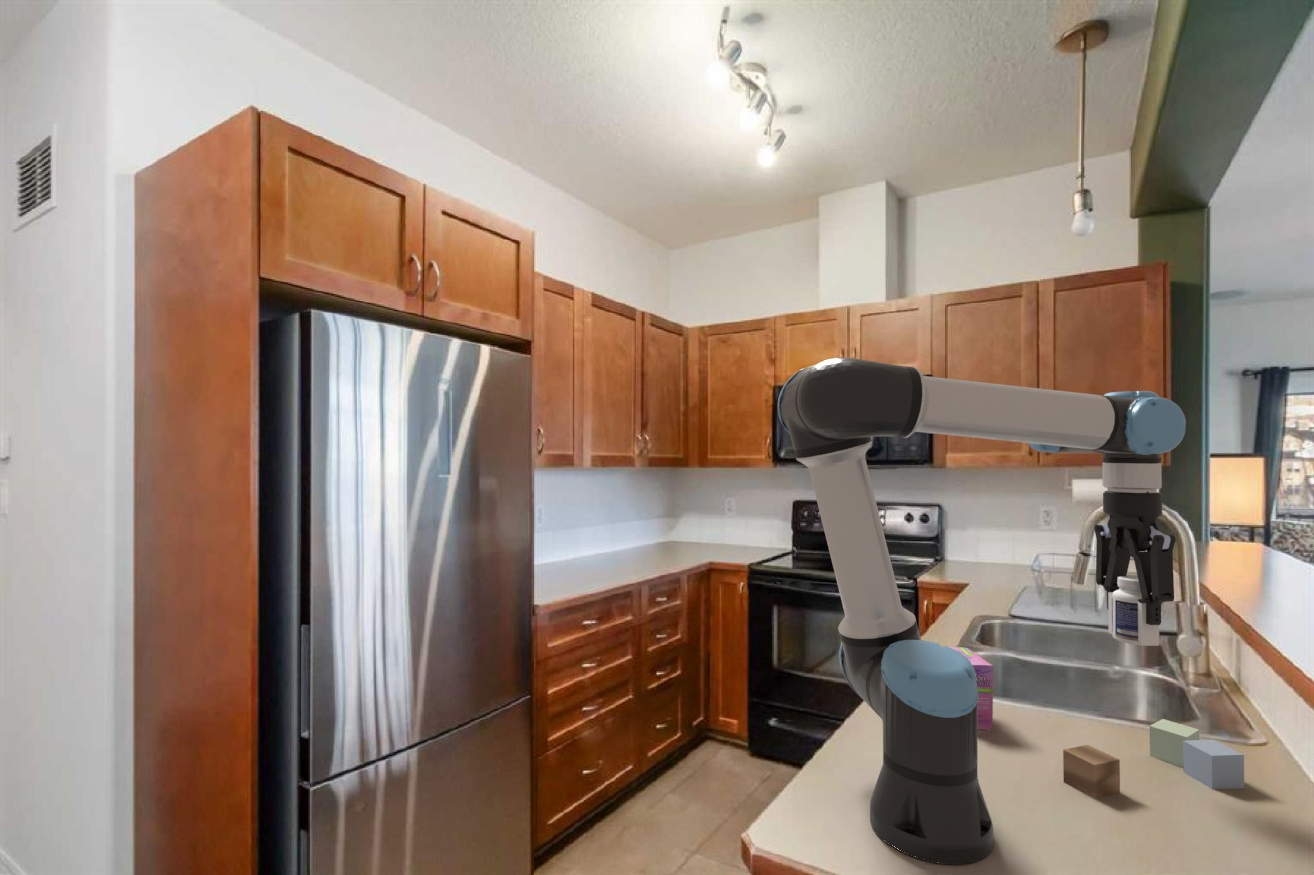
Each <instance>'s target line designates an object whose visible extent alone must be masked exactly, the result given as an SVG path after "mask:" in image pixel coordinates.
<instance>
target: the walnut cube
mask: <svg viewBox="0 0 1314 875" xmlns="http://www.w3.org/2000/svg"><path fill="white" fill-rule="evenodd" d="M1062 750H1063V751H1062V752H1063V753H1062V756H1063V760H1062V762H1063V763H1062V764H1063V765H1062V766H1063V768H1062V770H1063V783H1064V784H1067V785H1068V786H1069V787H1072V788H1074V789H1075V790H1078V791H1079V792H1081V793H1083V794H1085V795H1086V796H1089V797H1090V798H1092V799H1093V800H1096V799H1100V798H1105V797H1106V798H1107V797H1109V796H1114V795H1118V794H1121V770H1120V769H1121V768H1120V766H1121V763H1120V758H1117V757H1115V756H1113V755H1111V754H1109V753H1106V752H1104V751H1103V750H1100V749H1098V748H1096V747H1094V746H1093V745H1092V746H1091V745H1089V744H1085V745H1079V746H1075V747H1069V748H1065V749H1062Z"/></svg>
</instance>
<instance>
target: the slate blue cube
mask: <svg viewBox="0 0 1314 875" xmlns="http://www.w3.org/2000/svg"><path fill="white" fill-rule="evenodd" d="M1182 768H1183V773H1184V774H1186V775H1187V776H1189V777H1191V778H1192V779H1194V780H1196V781H1198V782H1199V783H1201V784H1203V785H1205V786H1207V787H1208V788H1209V789H1211V790H1222V789H1223V790H1227V789H1245V755H1244V754H1243V753H1241V752H1239V751H1237V750H1235V749H1233V748H1231V747H1229V746H1227V745H1225V744H1223V743H1221V742H1219V741H1217V740H1215V739H1199V740H1187V741H1183V767H1182Z"/></svg>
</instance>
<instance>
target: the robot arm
mask: <svg viewBox="0 0 1314 875" xmlns="http://www.w3.org/2000/svg"><path fill="white" fill-rule="evenodd" d="M777 415H778V418H779V421H780V423H781V425H782V427H783V428H784V430H785V431H786V432H787V433H788V434H789V435H790V440H791V442H792V444H791V445H792V447H793V452H794V455H795V456H794V457H795V460H796V461H797V462H799V463H801V464H802V465H805V467H807V469H808V470H809V475H810V478H811V479H810V480H811V481H812V482H811V483H812V487H813V491H814V495H815V498H816V503H817V507H818V511H819V514H820V520H821V524H822V527H823V531H824V534H825V539H826V542H827V543H826V544H827V546H828V552H829V555H830V556H829V557H830V559H831V563H832V568H833V571H834V572H833V573H834V576H835V579H836V584H837V588H838V592H839V596H840V600H841V604H842V608H843V612H844V617H843V619H842V620H841V621H840V623H839V625H838V627H837V629H838V633H839V637H840V641H841V642H840V645H839V651H838V659H839V666H840V669H841V671H842V674H843V676H844V679H845V680H846V683H847V684H848V685H849V687H850V688H851V690H852V691H853V692H854V693H855V694H856V695H858V696H859V697H860V698H861V699H862V700H863V701H864V702H865V703H866V704H867V705H868V707H870V709H872V710H873V711H874V712H875V714H876V715H877V716H878V717H879V718H880V719H881V720H882V749H883V750H882V757H883V758H882V766H881V768H880V772H879V774H878V778H877V780H876V783H875V785H874V789H873V792H872V794H871V797H870V803H869V819H870V820H869V821H870V826H871V828H872V829H873V831H874V832H875V834H876V835H878V837H879V838H880V839H881V838H882V839H881V840H882V841H884V840H885V841H886V842H887V843H886V842H885V841H884V842H885V843H886V844H888V843H889V844H890V845H889V844H888V845H889V846H891V845H893V846H895V847H896V848H898V849H899V850H901V851H903V852H905V853H908V854H909V855H908V854H907V855H908V856H910V855H912V856H911V857H913V856H916V857H918V858H917V859H919V858H920V859H919V860H922V859H925V860H924V861H926V860H929V861H928V862H930V861H933V862H932V863H935V862H939V863H938V864H942V863H944V864H943V865H964V864H971V863H975V862H978V861H981V860H983V859H984V858H986V857H987V856H989V855H990V853H991V852H992V850H993V848H994V826H993V821H992V818H991V815H990V812H989V809H988V806H987V804H986V801H985V797H984V794H983V791H982V788H981V785H980V783H979V779H978V731H977V702H978V696H979V694H978V686H977V682H976V673H975V670H974V667H973V665H972V664H971V662H970V661H969V660H968V659H967V658H966V657H965V656H964V655H962V654H961V653H959V652H958V651H956V650H954V649H952V648H950V647H951V646H947V645H944V646H943V645H940V643H937V642H934V641H930V640H928V641H927V640H923V639H921V634H920V630H919V627H918V623H917V618H916V616H915V614H914V613H913V612H911V611H910V610H908V609H906V608H905V607H903V605H902V601H901V598H900V594H899V589H898V585H897V580H896V578H895V577H896V576H895V572H894V569H893V564H892V561H891V558H890V552H889V548H888V545H887V542H886V537H885V533H884V529H883V525H882V520H881V516H880V513H879V508H878V505H877V501H876V496H875V492H874V488H873V484H872V480H871V476H870V472H869V468H868V464H867V460H866V453H867V452H868V450H869V449H870V447H871V446H872V444H873V441H872V438H873V437H878V438H879V437H890V438H891V437H892V438H902V439H907V438H909V437H911V436H912V435H913V434H914V433H925V434H934V435H944V436H945V435H946V436H952V437H953V436H954V437H955V436H956V437H963V438H964V437H965V438H977V439H985V440H993V441H995V440H996V441H1003V442H1004V441H1005V442H1006V441H1007V442H1016V443H1025V444H1028V445H1029V446H1030V448H1032V449H1033V450H1034V451H1036V452H1038V453H1051V454H1058V453H1059V454H1060V453H1061V454H1062V453H1063V454H1064V453H1065V454H1066V453H1075V454H1077V453H1078V454H1102V480H1101V481H1102V482H1101V483H1102V486H1103V488H1106V490H1104V492H1103V493H1102V511H1103V514H1105V515H1108V516H1109V518H1108V521H1107V523H1105V524H1095V525H1094V527H1093V529H1094V530H1093V531H1094V534H1095V538H1096V547H1095V548H1096V552H1095V553H1096V554H1095V555H1096V556H1095V557H1096V560H1095V583H1096V585H1098V586H1102V587H1103V588H1104V591H1106V608H1107V611H1108V634H1111V635H1113V634H1112V594H1113V592H1114V591H1116V590H1119V587H1118V584H1117V580H1118V577H1120V576H1127V575H1128V574H1127V573H1128V570H1129V565H1130V561H1131V558H1133V561H1134V565H1135V571H1136V574H1137V575H1136V577H1138V580H1139V585H1140V590H1141V594H1142V599H1138V601H1139V602H1138V644H1139V645H1138V646H1142V647H1146V646H1147V647H1149V646H1153V647H1156V646H1160V626H1161V624H1162V605H1163V603H1167V602H1173V601H1175V587H1174V583H1175V582H1174V561H1173V560H1174V557H1173V554H1174V553H1173V552H1174V547H1175V545H1176V544H1175V543H1176V536H1174V535H1173V534H1165V533H1163V532H1161V531H1160V528H1159V526H1158V523H1157V519H1158V518H1159V517H1161V516H1162V515H1163V494H1161V493H1160V492H1157V490H1160V489H1161V488H1162V484H1163V483H1162V482H1163V481H1162V480H1163V479H1162V477H1163V476H1162V454H1165V453H1168V452H1170V451H1172V450H1174V449H1175V448H1177V447H1178V445H1180V443H1181V442H1182V440H1183V439H1184V437H1185V436H1186V435H1185V434H1186V429H1187V427H1186V425H1187V421H1186V416H1185V414H1184V412H1183V410H1182V408H1181V407H1180V406H1179V405H1178V404H1177V403H1175V402H1174V401H1173V400H1170V399H1168V398H1166V397H1162V396H1161V397H1160V396H1159V394H1158V393H1156V392H1155V391H1149V390H1134V391H1132V390H1131V391H1127V390H1126V391H1114V392H1113V391H1112V392H1107V393H1105V394H1103V395H1099V394H1092V393H1086V392H1085V393H1083V392H1074V391H1067V390H1056V389H1049V388H1048V389H1046V388H1037V387H1028V386H1019V385H1018V386H1017V385H1011V384H1010V385H1009V384H1001V383H991V382H981V381H974V380H973V381H972V380H965V379H956V378H955V379H954V378H944V377H936V376H927V375H924V374H923V373H922V372H921V370H919V369H918V368H917V367H914V366H906V365H905V366H904V365H900V364H899V365H898V364H891V363H887V362H885V363H884V362H881V361H880V362H879V361H873V360H868V359H861V358H855V357H833V358H827V359H825V360H822V361H820V362H818V363H816V364H813V365H810V366H809V365H808V366H807V367H804V368H801V369H799V370H798V371H797V372H795V373H794V374H793V375H792V376H791V377H790V378H789V379H787V381H786V382H785V384H784V385H783V386H782V387H781V390H780V392H779V395H778V399H777ZM896 848H895V849H896ZM899 850H898V851H899ZM901 851H900V852H901ZM903 852H902V853H903ZM905 853H904V854H905ZM916 857H915V858H916ZM945 863H946V864H945Z"/></svg>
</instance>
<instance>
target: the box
mask: <svg viewBox="0 0 1314 875" xmlns="http://www.w3.org/2000/svg"><path fill="white" fill-rule="evenodd" d="M949 647H950V648H952V649H954V650H956V651H958V652H959V653H961V654H962V655H964V656H965V657H966V658H967V659H968V660H969V661H970V662H971V664H972V665H973V667H974V670H975V673H976V682H977V686H978V694H979V696H978V702H977V732H979V731H984V732H985V731H993V726H994V725H993V719H994V718H993V714H994V712H993V711H994V709H993V708H994V706H993V705H994V701H993V700H994V665H993V664H991V663H990V662H988V661H987V660H985V659H984V658H982V657H981V656H980V655H978V654H977V653H975V652H974V651H973V650H971V649H970V648H968V647H963V646H961V647H960V646H954V647H953V646H949Z"/></svg>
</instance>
